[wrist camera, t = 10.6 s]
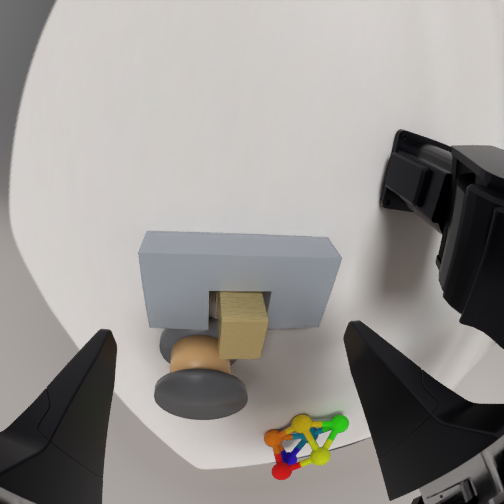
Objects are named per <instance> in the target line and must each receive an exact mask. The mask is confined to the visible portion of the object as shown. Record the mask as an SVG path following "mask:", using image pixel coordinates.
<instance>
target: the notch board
mask: <svg viewBox="0 0 504 504" xmlns="http://www.w3.org/2000/svg"><path fill="white" fill-rule="evenodd" d="M138 254H139V263H140V271H141V278H142V285H143V292H144V298H145V305H146V311H147V316H148V322H149V327H150V328H170V329H205V330H208V318H209V291H262V295H263V300H264V304H265V308H266V312H267V316H268V321H269V322H268V326H267V329H287V328H308V327H319V325H320V322H321V319H322V316H323V314H324V311H325V308H326V305H327V302H328V299H329V296H330V293H331V291H332V288H333V285H334V281H335V278H336V275H337V272H338V269H339V266H340V263H341V259H342V257H341V256H340V254H339V253H338V251H337V250H336V248H335V247H334V245H333V244H332V243H331V241H330V240H329V238H327V237H306V236H284V235H259V234H232V233H200V232H162V231H147V232H146V234H145V237H144V239H143V242H142V244H141V247H140V250H139V252H138Z"/></svg>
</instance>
